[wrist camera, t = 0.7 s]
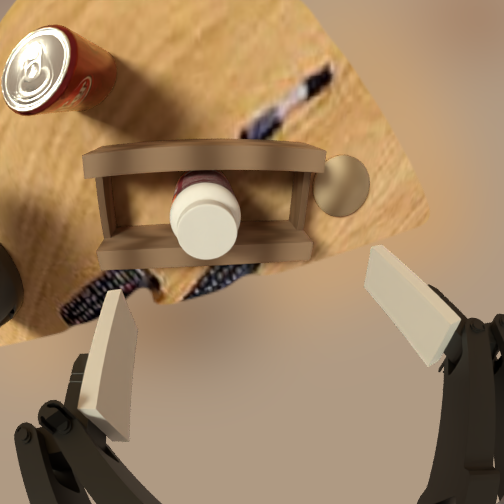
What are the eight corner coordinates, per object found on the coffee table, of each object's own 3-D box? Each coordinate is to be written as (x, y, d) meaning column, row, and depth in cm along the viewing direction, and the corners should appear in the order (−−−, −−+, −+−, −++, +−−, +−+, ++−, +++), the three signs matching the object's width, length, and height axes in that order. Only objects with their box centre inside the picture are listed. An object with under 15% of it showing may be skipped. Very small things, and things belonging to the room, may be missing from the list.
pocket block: (113, 243, 31) (100, 270, 26) (102, 146, 25) (82, 155, 20) (293, 236, 35) (310, 260, 30) (303, 142, 30) (326, 150, 24)
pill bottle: (167, 175, 28) (153, 209, 19) (221, 157, 29) (234, 181, 19) (185, 224, 32) (183, 277, 22) (236, 207, 32) (255, 253, 22)
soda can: (117, 104, 23) (72, 103, 13) (60, 115, 22) (-3, 126, 12) (120, 43, 20) (80, 10, 10) (62, 57, 19) (3, 41, 8)
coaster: (308, 214, 34) (310, 216, 34) (316, 151, 30) (318, 152, 30) (361, 215, 36) (363, 216, 35) (371, 158, 32) (374, 159, 31)
